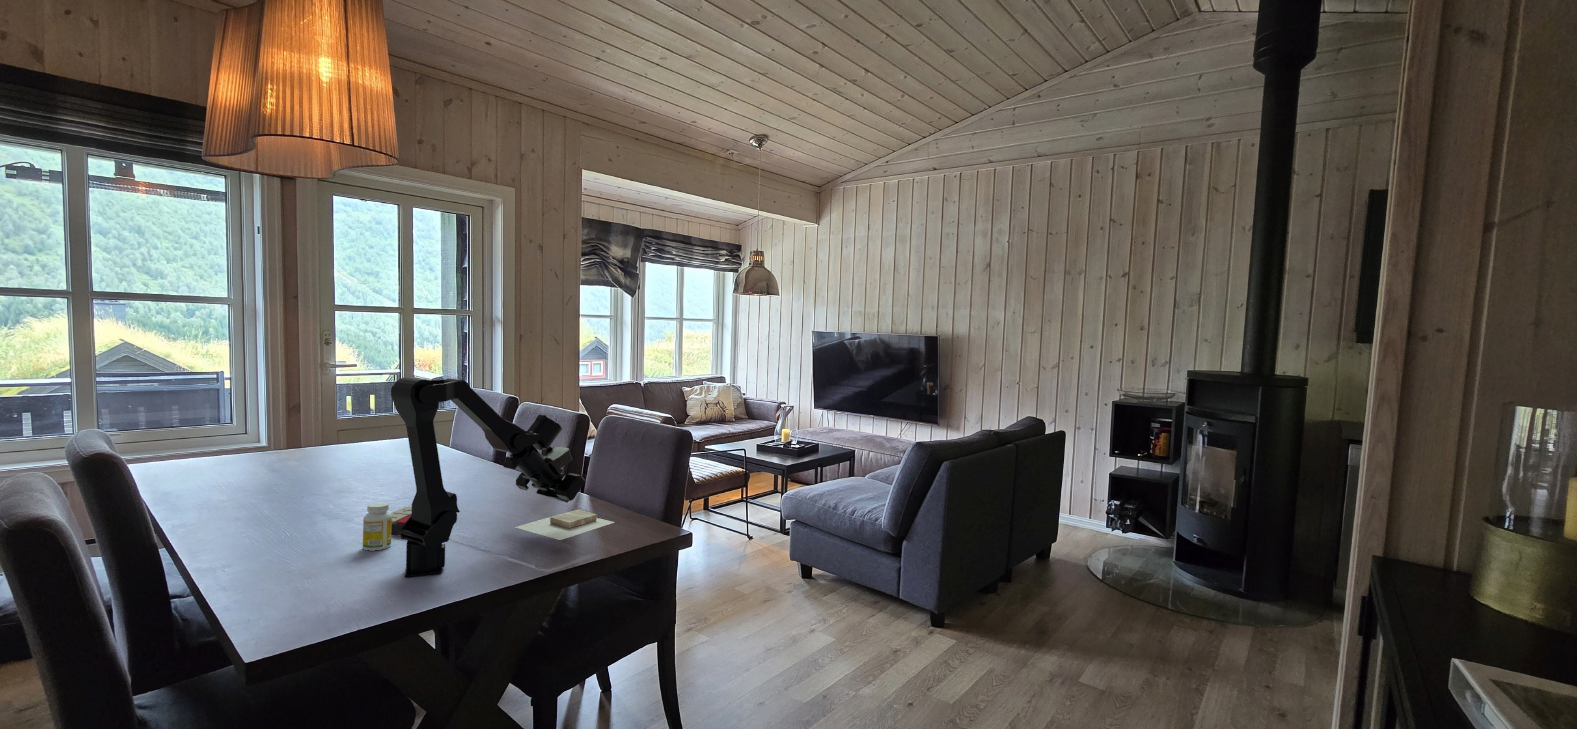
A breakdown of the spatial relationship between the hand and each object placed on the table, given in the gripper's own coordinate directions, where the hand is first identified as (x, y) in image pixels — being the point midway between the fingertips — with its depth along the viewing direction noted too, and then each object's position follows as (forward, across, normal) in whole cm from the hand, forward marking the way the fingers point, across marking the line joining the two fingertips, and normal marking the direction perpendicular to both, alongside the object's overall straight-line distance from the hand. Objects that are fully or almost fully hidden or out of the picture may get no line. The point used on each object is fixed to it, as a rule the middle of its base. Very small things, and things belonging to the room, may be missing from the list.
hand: (567, 500), depth 167 cm
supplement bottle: (-20, +20, +30) cm, 41 cm away
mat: (+4, 0, +5) cm, 7 cm away
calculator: (-10, +29, +20) cm, 36 cm away
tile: (+2, 0, +5) cm, 6 cm away
